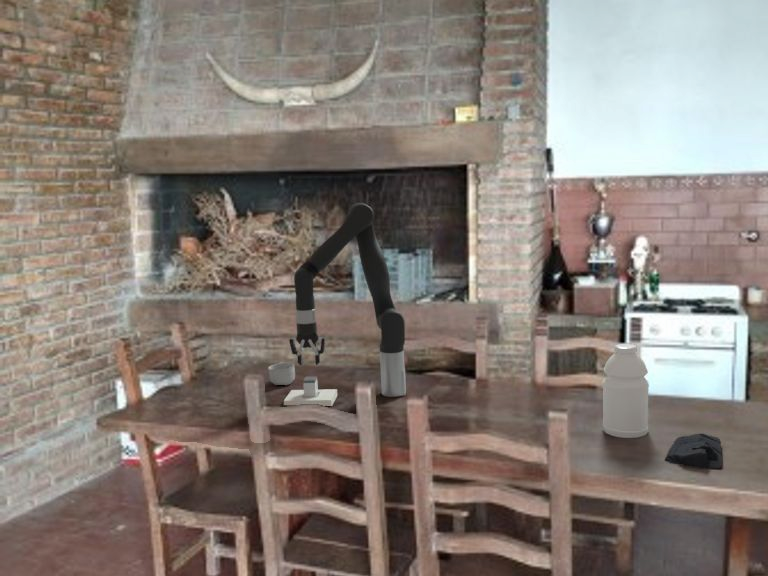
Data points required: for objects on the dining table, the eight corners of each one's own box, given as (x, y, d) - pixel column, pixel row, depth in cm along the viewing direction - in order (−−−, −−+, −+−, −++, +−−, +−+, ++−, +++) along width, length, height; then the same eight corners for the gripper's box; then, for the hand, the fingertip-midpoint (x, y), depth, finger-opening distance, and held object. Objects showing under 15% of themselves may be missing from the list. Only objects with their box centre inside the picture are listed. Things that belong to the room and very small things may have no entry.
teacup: (293, 387, 308) (292, 368, 306) (267, 388, 308) (266, 369, 307) (298, 378, 321) (297, 359, 320) (272, 379, 322) (271, 360, 321)
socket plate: (337, 395, 293) (337, 389, 293) (331, 406, 280) (331, 400, 279) (292, 396, 295) (291, 389, 295) (284, 407, 281) (283, 400, 281)
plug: (318, 399, 290) (317, 376, 289) (316, 403, 285) (314, 380, 283) (307, 399, 290) (305, 376, 289) (304, 403, 285) (303, 380, 284)
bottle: (594, 432, 240) (593, 347, 236) (615, 421, 250) (615, 338, 246) (635, 442, 230) (635, 353, 226) (656, 430, 240) (657, 344, 236)
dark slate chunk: (728, 446, 225) (729, 431, 224) (720, 473, 206) (721, 456, 206) (674, 439, 233) (674, 424, 232) (662, 464, 214) (662, 448, 213)
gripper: (326, 318, 286) (329, 361, 288) (289, 319, 287) (292, 362, 290) (323, 322, 278) (326, 366, 281) (285, 323, 280) (288, 367, 282)
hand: (309, 364), depth 285 cm, fingers open, 5 cm apart
